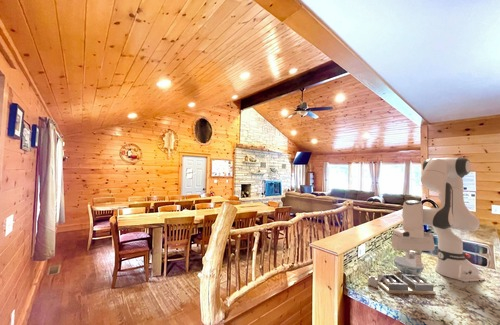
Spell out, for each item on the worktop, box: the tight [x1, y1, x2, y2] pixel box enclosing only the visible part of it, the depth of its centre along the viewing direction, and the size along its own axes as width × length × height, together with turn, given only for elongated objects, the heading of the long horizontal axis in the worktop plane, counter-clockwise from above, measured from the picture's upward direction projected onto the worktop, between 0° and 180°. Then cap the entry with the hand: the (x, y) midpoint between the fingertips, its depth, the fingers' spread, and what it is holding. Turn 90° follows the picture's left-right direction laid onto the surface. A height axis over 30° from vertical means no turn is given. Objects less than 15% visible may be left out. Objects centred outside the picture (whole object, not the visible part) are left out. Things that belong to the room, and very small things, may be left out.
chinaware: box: [393, 256, 425, 276], centre depth 129 cm, size 15×15×8 cm
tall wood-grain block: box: [405, 251, 422, 267], centre depth 111 cm, size 3×7×6 cm, turn 0°
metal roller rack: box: [377, 273, 437, 295], centre depth 114 cm, size 24×11×4 cm, turn 89°
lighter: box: [368, 272, 384, 289], centre depth 114 cm, size 7×2×8 cm, turn 45°
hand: (413, 258), depth 111 cm, fingers closed on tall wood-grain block, 3 cm apart
